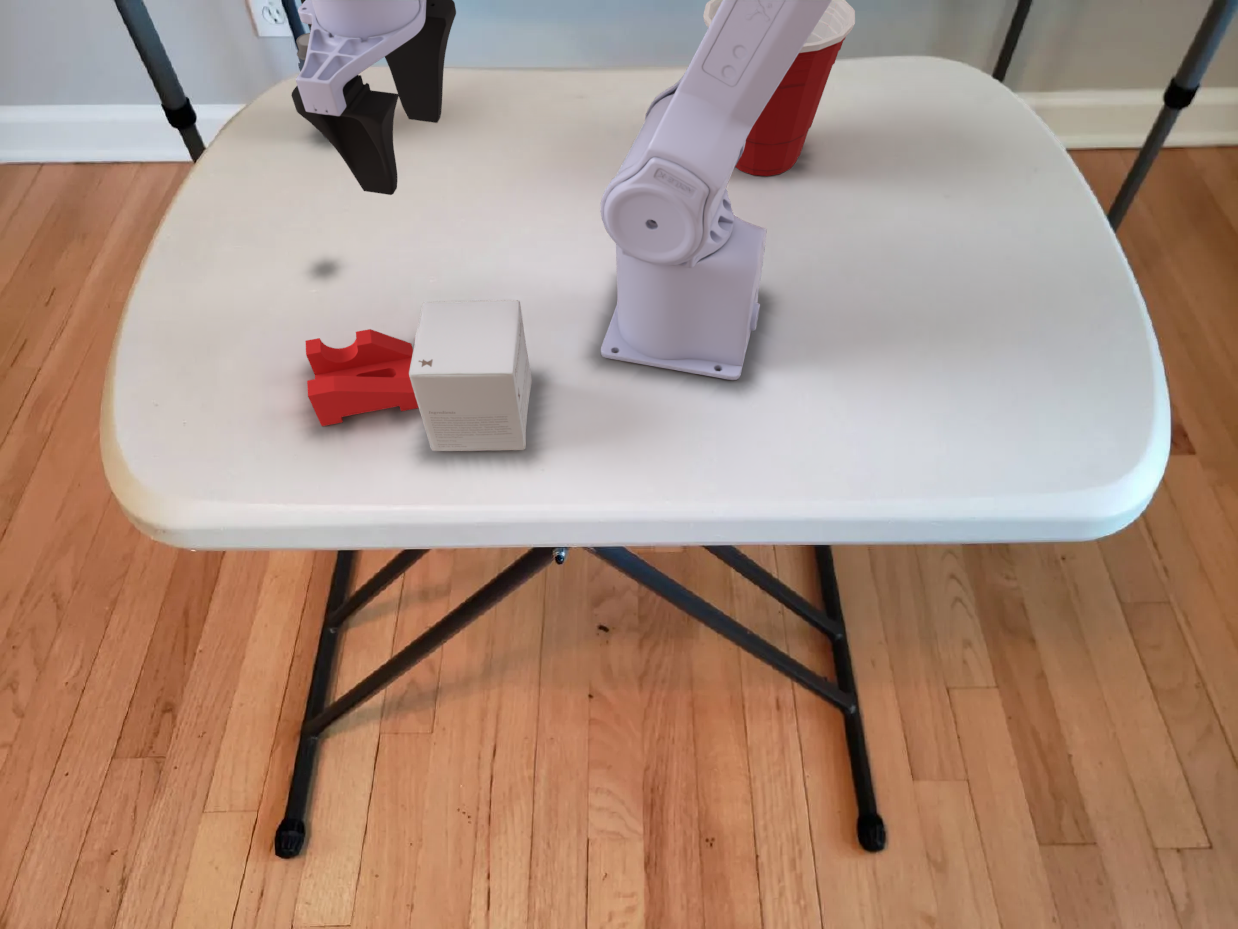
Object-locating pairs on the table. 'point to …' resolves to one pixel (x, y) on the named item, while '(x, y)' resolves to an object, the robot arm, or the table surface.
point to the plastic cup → (793, 94)
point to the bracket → (360, 376)
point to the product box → (472, 375)
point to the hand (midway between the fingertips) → (403, 152)
